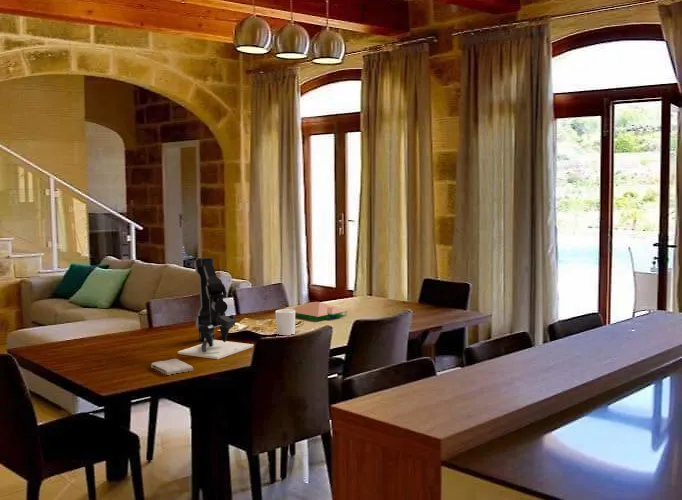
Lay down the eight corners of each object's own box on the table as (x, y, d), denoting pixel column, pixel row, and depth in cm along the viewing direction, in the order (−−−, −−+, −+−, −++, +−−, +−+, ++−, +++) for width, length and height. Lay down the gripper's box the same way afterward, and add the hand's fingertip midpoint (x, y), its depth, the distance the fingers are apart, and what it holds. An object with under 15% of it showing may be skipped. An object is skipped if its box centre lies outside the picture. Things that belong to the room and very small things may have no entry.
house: (321, 323, 382) (320, 308, 381) (282, 315, 406) (281, 301, 405) (352, 316, 397) (352, 301, 397) (313, 309, 422) (312, 295, 421)
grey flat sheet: (177, 353, 323) (177, 351, 322) (214, 341, 344) (214, 339, 344) (217, 359, 311) (217, 356, 311) (253, 346, 332) (253, 344, 332)
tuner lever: (205, 344, 333) (204, 337, 333) (214, 344, 333) (213, 336, 333) (199, 353, 317) (199, 345, 317) (208, 353, 317) (208, 345, 317)
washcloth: (175, 363, 307) (175, 356, 307) (194, 371, 293) (194, 364, 293) (148, 368, 300) (148, 361, 300) (167, 377, 286) (166, 369, 286)
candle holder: (278, 338, 348) (277, 313, 347) (274, 333, 358) (273, 309, 356) (298, 336, 351) (297, 311, 350) (294, 332, 360) (293, 308, 359)
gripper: (216, 315, 312) (217, 350, 314) (243, 307, 328) (245, 341, 330) (196, 313, 318) (198, 348, 320) (224, 305, 334) (225, 339, 335)
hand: (217, 344), depth 326 cm, fingers open, 9 cm apart
